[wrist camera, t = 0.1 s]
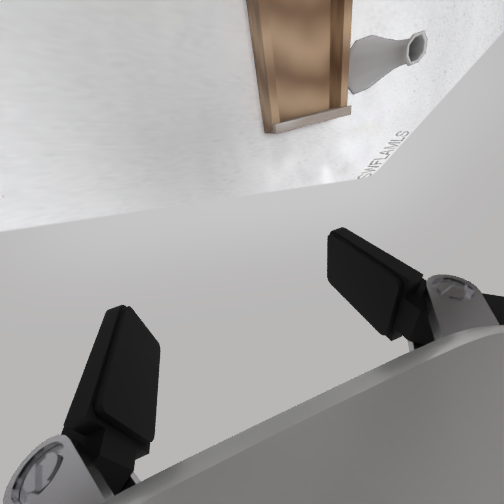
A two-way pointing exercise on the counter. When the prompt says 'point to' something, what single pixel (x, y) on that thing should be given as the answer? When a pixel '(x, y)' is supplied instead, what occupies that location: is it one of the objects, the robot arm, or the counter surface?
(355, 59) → the flask
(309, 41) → the wooden rimmed tray
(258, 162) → the counter surface
